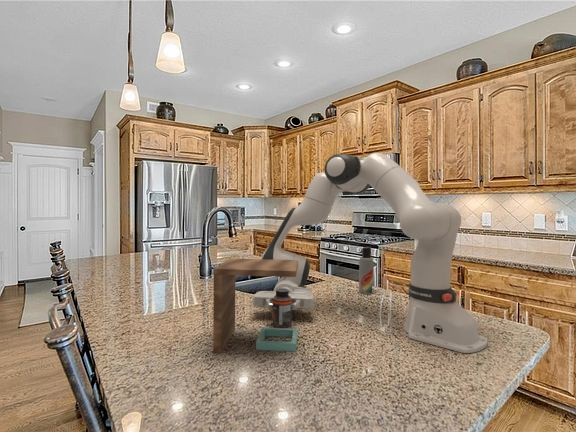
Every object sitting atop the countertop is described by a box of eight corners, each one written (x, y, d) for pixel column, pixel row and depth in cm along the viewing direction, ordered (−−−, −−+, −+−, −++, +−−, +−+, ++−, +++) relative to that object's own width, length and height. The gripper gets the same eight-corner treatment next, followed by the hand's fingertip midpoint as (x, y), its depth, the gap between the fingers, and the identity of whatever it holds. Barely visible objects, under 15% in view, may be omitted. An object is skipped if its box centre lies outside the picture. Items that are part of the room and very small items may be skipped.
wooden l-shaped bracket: (297, 331, 100) (298, 260, 100) (294, 356, 84) (295, 271, 84) (228, 329, 102) (229, 258, 101) (213, 352, 86) (213, 268, 85)
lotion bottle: (372, 294, 143) (373, 247, 142) (358, 294, 144) (359, 247, 143) (372, 291, 148) (373, 246, 147) (358, 290, 149) (359, 245, 148)
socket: (297, 335, 98) (297, 328, 98) (295, 351, 87) (296, 343, 87) (261, 334, 98) (261, 327, 98) (256, 349, 88) (256, 342, 88)
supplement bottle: (269, 323, 108) (270, 287, 107) (287, 321, 110) (287, 286, 109) (275, 329, 102) (276, 292, 101) (294, 327, 104) (294, 291, 104)
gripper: (256, 285, 119) (248, 295, 105) (314, 286, 118) (314, 298, 104) (255, 302, 119) (248, 315, 105) (313, 304, 118) (314, 318, 104)
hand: (281, 307), depth 105 cm, fingers closed on supplement bottle, 6 cm apart
